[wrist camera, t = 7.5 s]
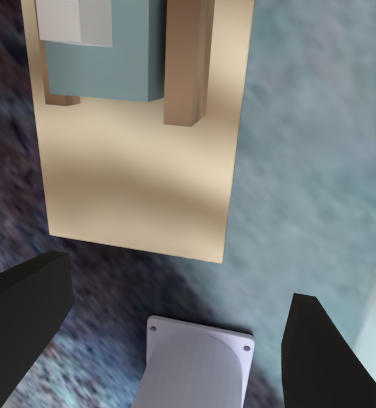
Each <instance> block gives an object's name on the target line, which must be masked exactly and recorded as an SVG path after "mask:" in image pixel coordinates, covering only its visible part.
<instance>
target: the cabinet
mask: <svg viewBox="0 0 376 408" xmlns="http://www.w3.org/2000/svg"><path fill="white" fill-rule="evenodd" d="M36 7H37V16H38V26H39V35H40V40H44V41H45V50H46V60H47V69H48V79H49V89H50V94H58V95H69V96H81V97H93V98H104V99H116V100H128V101H139V102H150V101H154V100H158V99H161V98H164V89H165V57H166V26H167V0H36Z"/></svg>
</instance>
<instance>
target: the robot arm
mask: <svg viewBox="0 0 376 408" xmlns="http://www.w3.org/2000/svg"><path fill="white" fill-rule="evenodd" d="M73 303H74V297H73V289H72V280H71V272H70V263H69V255H68V253H63V252H58V251H49V252H46V253H44V254H41V255H39V256H37V257H34V258H32V259H30V260H28V261H26V262H23V263H21V264H19V265H17V266H15V267H13V268H10V269H8V270H6V271H4V272H2V273H0V408H1V407H2V406H3V404H4V403H5V402H6V400H7V399H8V397H9V396H10V394H11V393H12V392H13V390H14V389H15V388H16V386H17V385H18V384H19V382H20V381H21V380H22V378H23V377H24V376H25V374H26V373H27V372H28V370H29V369H30V368H31V366H32V365H33V364H34V362H35V361H36V360H37V358H38V357H39V356H40V354H41V353H42V352H43V350H44V349H45V348H46V346H47V345H48V344H49V342H50V341H51V339H52V338H53V337H54V335H55V334H56V333H57V331H58V330H59V328H60V326H61V325H62V323H63V321H64V320H65V318H66V316H67V314H68V312H69V311H70V309H71V307H72V305H73ZM152 326H154V327H155V328H153V327H152ZM245 346H249V347H245ZM254 346H255V339H254V337H253V336H252V335H249V334H244V333H239V332H234V331H229V330H224V329H219V328H214V327H209V326H204V325H199V324H194V323H189V322H184V321H179V320H174V319H169V318H164V317H159V316H150V317H149V319H148V321H147V365H146V369H145V372H144V374H143V377H142V380H141V382H140V385H139V387H138V390H137V393H136V395H135V398H134V400H133V403H132V406H131V408H243V402H244V397H245V392H246V387H247V382H248V377H249V372H250V366H251V361H252V356H253V351H254ZM281 367H282V386H283V394H284V403H285V408H376V382H375V381H374V380H373V378H372V377H371V376H370V374H369V373H368V372H367V370H366V369H365V368H364V366H363V365H362V364H361V362H360V361H359V360H358V358H357V357H356V355H355V354H354V352H353V351H352V350H351V348H350V347H349V346H348V344H347V343H346V341H345V340H344V338H343V337H342V335H341V334H340V332H339V331H338V330H337V328H336V327H335V325H334V324H333V322H332V320H331V319H330V317H329V316H328V314H327V313H326V311H325V310H324V308H323V307H322V305H321V304H320V302H319V301H318V299H317V298H316V297H314V296H309V295H303V294H297V293H294V295H293V299H292V303H291V307H290V311H289V315H288V319H287V323H286V327H285V331H284V335H283V339H282V343H281Z"/></svg>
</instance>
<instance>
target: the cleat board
mask: <svg viewBox="0 0 376 408" xmlns="http://www.w3.org/2000/svg"><path fill="white" fill-rule="evenodd" d="M254 3H255V0H167V26H166V57H165V89H164V98H161V99H158V100H154V101H150V102H139V101H128V100H116V99H104V98H93V97H81V96H69V95H58V94H50V89H49V79H48V69H47V60H46V50H45V41H44V40H40V35H39V26H38V16H37V7H36V0H21V5H22V13H23V21H24V29H25V37H26V45H27V54H28V62H29V70H30V78H31V86H32V94H33V102H34V111H35V119H36V127H37V135H38V143H39V151H40V159H41V168H42V176H43V184H44V192H45V200H46V208H47V216H48V225H49V233H50V235H53V236H59V237H65V238H71V239H77V240H83V241H89V242H95V243H101V244H107V245H113V246H119V247H125V248H131V249H137V250H143V251H149V252H155V253H161V254H167V255H173V256H179V257H185V258H191V259H197V260H203V261H209V262H215V263H221V264H222V259H223V254H224V245H225V237H226V229H227V221H228V213H229V205H230V197H231V189H232V181H233V173H234V165H235V157H236V149H237V141H238V132H239V124H240V116H241V108H242V100H243V92H244V84H245V76H246V68H247V60H248V52H249V44H250V36H251V28H252V19H253V11H254Z"/></svg>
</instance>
